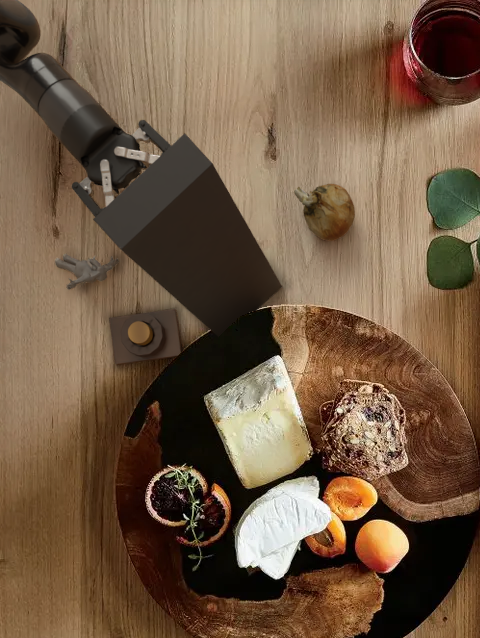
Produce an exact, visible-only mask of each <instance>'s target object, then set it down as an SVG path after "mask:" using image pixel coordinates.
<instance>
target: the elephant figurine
mask: <svg viewBox="0 0 480 638" xmlns="http://www.w3.org/2000/svg"><path fill="white" fill-rule="evenodd" d="M96 256H97V254H95V255H94V256H93V257H88V258H87V259H81V260H80V259H77V258H75V257H74V256H71V255H70V254H68V253H63V255H62V259H63V260H62V259H61V258H60V257H56V258H55V259H54V264H55V266H56V268H58V269H61V270H66V271H68V272H70V273H72V274H74V277H75V278H76V279H73V280H72V279H71V278H70V277H69V278H68V280H69V283H67V284H65V286H66V289H67V290H68V291H70V290H71V289H75V288H76V287H77V285H79V284H82V287H83V286H85V285H86V283H88V284H93V283H95V282H96V281H97V282H104V281H106V280H107V278H108V272H109V271H111V270H113V268H115V267H116V266H118V264H119V263H120V259H119V258H118V257H117V258H115V259H114V256H113V255H111V257H110V260H109V262H107V263H105V264H101V262H100V261H98V259H96Z"/></svg>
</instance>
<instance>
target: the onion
mask: <svg viewBox="0 0 480 638" xmlns="http://www.w3.org/2000/svg"><path fill="white" fill-rule="evenodd" d="M293 193H294V194H293V195H295V197H296V198H297V199H298V201H299V202H300V203H301V204H302V206H303V211H302V212H303V217H304V220H305V222H306V224H307V227H308V229H309V230H310V232H311V233H312V234H313V235H314V236H316V237H317V238H319V239H321V240H323V241H328V242H329V241H331V242H332V241H333V242H334V241H336V240H339V239H341V238H342V237H344V236H345V235H346V234H348V232H349V231H350V229H351V228H352V226H353V224H354V222H355V219H356V218H355V217H356V209H355V204H354V202H353V199H352V197H351V195H350V193H349V192H348V190H347V189H346V188H344V187H343V186H341V185H338V184H336V183H327V184H323V185H318V186H316V187H315V189H313V190H312V191H311V190H310V191H309V193H308V192H306V191H305V190H304V189H303V188H301V187H300V186H298V187H297V188H295V189H294V191H293Z"/></svg>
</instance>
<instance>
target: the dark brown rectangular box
mask: <svg viewBox="0 0 480 638" xmlns="http://www.w3.org/2000/svg"><path fill="white" fill-rule="evenodd" d="M161 154H162V153H161ZM161 154H160V155H159V156H160V157H159V158H158V159H157V160H156V161H155V162H153V163H152V164H151V165H150V166H149V167H148V168H147V169H146V170H144V171H143V172H141V174H140V175H139V176H138V177H137V178H135V179H133V180H132V181H131V182H130V184H129V185H128V186H127V187H126V188H125V189H124V190H122V192H120V194H119V195H118V196H117V197H116V198H115V199H114V200H113V201H112V202H111V203H110V204H109V205H108V206H107V207H106V206H105V207H106V208H104V207H103V208H104V209H103V210H102V211H101V212H100V213H99V214H98V215H97V216H96V217H95V216H94V218H93V219H92V220H93V221H94V223H96V225H97V226H98V227H99V228H100V229H101V230H102V231H103V232H104V233H105V234H106V235H107V237H109V239H110V240H111V241H112V242H113V243H114V244H115V245H116V246H117V247H118V249H119V250H120V251H122V252H123V253H124V254H125V255H126V256H127V257H128V258H129V259H131V261H133V262H134V263H135V264H136V265H137V266H138V267H140V268H141V269H142V270H143V271H144V272H145V273H146V274H147V275H148V276H149V277H151V278H152V280H154V281H155V282H156V283H157V284H159V286H161V288H163V289H164V290H165V291H166V292H168V293H169V295H171V296H172V297H173V298H174V299H175V300H177V302H179V303H180V304H181V305H182V306H183V307H184V308H185V309H186V310H187V311H188V312H190V313H191V314H192V315H193V316H194V317H195V318H196V319H198V320H199V321H200V323H202V324H203V325H204V326H205V327H206V328H207V329H209V330H210V331H211V332H212V333H213V334H215V336H217V337H218V338H219V336H220V335H221V334H222V333H223V332H224V331H225V330H226V329H227V328H228V327H229V326H231V325H232V323H233V322H235V321H236V320H237V318H239V317H240V316H242V315H245V314H247V313H249V312H252V311H256V310H257V311H258V310H260V308H261V307H263V306H264V304H265V303H266V302H268V301H269V300H270V299H271V298H272V297H273V296H274V295H275V294H276V293H277V292H278V291H280V290H281V289H282V288H283V285H282V283H281V281H280V279H279V278H278V276H277V275H276V273H275V271H274V269H273V268H272V265H271V263H270V262H269V260H268V258H267V257H266V255H265V253H264V252H263V249H262V248H261V246H260V245H259V242H258V241H257V239H256V238H255V236H254V234H253V232H252V230H251V228H250V226H249V225H248V223H247V222H246V220H245V218H244V216H243V215H242V213H241V211H240V209H239V207H238V205H237V204H236V202H235V200H234V198H233V197H232V195H231V193H230V191H229V189H228V188H227V186H226V184H225V182H224V181H223V179H222V178H221V175H220V173H218V170H217V169H216V167H215V165H214V164H213V162H212V161H211V160H210V159H209V157H207V156H206V155H205V154H204V152H203V151H202V150H201V149H200V148H199V147H198V146H197V145H196V143H194V141H193V140H192V139H191V138H190V137H189V136H188V135H187V134H186V133H183V134H181V136H180V137H179V138H178V139H177V140H175V141H174V143H173V144H171V147H169V148H168V149H167V150H166V151H165V152H164V153H163V154H162V155H161ZM257 311H256V312H257Z"/></svg>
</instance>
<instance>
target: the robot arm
mask: <svg viewBox="0 0 480 638" xmlns="http://www.w3.org/2000/svg"><path fill="white" fill-rule="evenodd" d="M41 35H42V34H41V27H40V23H39V21H38V19H37V17H36V16H35V14H34V13H33V12H32V11H31V9H30V8H28V6H26V5H25V4H24V3H23V2H21V1H20V0H0V82H1V83H3V84H5V86H8V87H9V88H10V89H11V90H13V91H14V92H16V93H17V94H18V95H19V96H20V98H21V99H23V100H24V101H25V102H26V103H27V104H28V105H29V106H30V107H31V108H32V109H33V111H34V112H35V113H36V114H37V115H38V116H39V117H40V119H41V120H42V121H43V122H44V124H45V126H46V127H47V128H48V130H49V131H50V132H51V134H53V136H54V137H55V138H56V139H57V140H58V142H59V143H60V144H61V145H62V146H64V148H65V149H66V150H67V151H68V152H69V153H70V155H72V156H73V158H74V159H75V160H76V161H77V162H78V163H79V164H80V166H82V168H83V169H84V171H86V177H85V178H84V179H82V180H81V181H80V182H78V181H74V182H72V184H71V189H72V190H73V192H74V193H75V194H76V195H77V196H78V198H79V199H80V200H81V202H82V203H83V204H84V205H85V207H86V208H87V209H88V211H89V212H90V213H91V214H92V215H93V217H94V218H95V217H96V216H97V215H98V214H99V213H100V212H101V211H102V210H103V209H104V208H106V207H107V206H108V205H109V204H110V203H111V202H112V201H113V200H114V199H115V198H116V197H117V196H118V195H119V194H120V193H121V190H122V189H124V190H125V189H126V188H127V187H128V186H129V185H130V184H131V183H132V182H133V181H134V180H135V179H136V178H137V177H139V176H140V175H141V174H142V170H144V171H145V170H146V169H147V168H148V167H149V166H150V165H151V164H152V163H153V162H155V161H156V160H157V159H158V158H159V157H160V156H161V155H162V154H163V153H164V152H165V151H166V150H167V149H168V148H169V147H171V146H172V144H170V143H169V142H168V141H167V140H166V139H165V138H164V137H163V136H162V135H161V134H160V133H159V132H158V131H157V130H156V129H155V128H154V127H153V126H152V125H150V124H149V122H148V121H147V120H145V119H141V120H139V121H138V123H137V124H138V128H137V129H136V130H134V132H133V133H132V134H129V133H128V132H125V130H124V129H123V128H122V127H121V126H120V125H119V124H118V123H117V122H116V121H115V119H114V118H113V117H112V116H111V115H110V114H109V113H108V112H107V111H106V110H105V108H104V107H103V106H102V104H101V103H99V102H98V101H97V100H96V98H94V97H93V95H92V94H91V93H90V92H89V91H87V90H86V89H85V88H84V87H83V86H82V85H80V83H79V82H77V80H76V79H74V77H73V76H72V75H71V74H70V73H69V72H68V70H67V69H66V68H65V67H64V66H63V65H62V64H61V63H60V62H59V61H58V60H57V59H56V58H55V57H54V56H53V55H51V54H49V53H47V52H37V53H34V54H31V55H29V54H30V53H31V52H32V51H33V50H34V49H35V48H36V47H37V46H38V44H39V42H40V40H41ZM28 55H29V56H28ZM140 142H143V143H145V144H150V143H151V142H152V143H153V144H154V145H155V147H157V149H159V150H160V152H161V154H160V155H157V154H152V153H149V152H146V151H142V150H141V148H140ZM94 185H96V186H99V187H102V192H103V195H104V202H105V203H104V204H105V207H102V208H101V207H100V206H99V204H98V203H97V201H95V199H94V198H93V196H94V194H95V192H94V191H95V190H93V189H94V188H93V186H94Z"/></svg>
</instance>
